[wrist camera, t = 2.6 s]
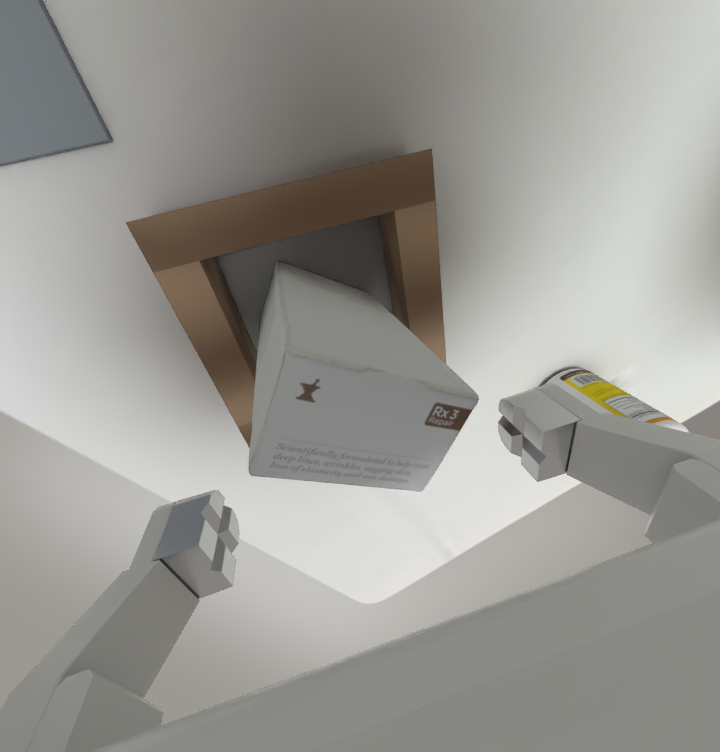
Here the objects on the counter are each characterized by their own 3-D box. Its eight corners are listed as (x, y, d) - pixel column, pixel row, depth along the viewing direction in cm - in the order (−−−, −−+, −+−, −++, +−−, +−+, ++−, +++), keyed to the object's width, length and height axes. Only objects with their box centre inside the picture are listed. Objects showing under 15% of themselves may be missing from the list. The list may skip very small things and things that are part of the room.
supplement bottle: (542, 429, 29) (651, 528, 21) (521, 394, 26) (638, 492, 18) (596, 392, 28) (734, 480, 20) (580, 352, 26) (734, 434, 17)
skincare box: (257, 328, 19) (232, 489, 9) (277, 253, 17) (273, 345, 7) (352, 353, 21) (420, 505, 11) (378, 289, 19) (488, 399, 9)
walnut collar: (151, 217, 15) (125, 222, 13) (408, 155, 16) (432, 148, 14) (254, 420, 22) (251, 450, 20) (429, 368, 23) (447, 390, 21)
